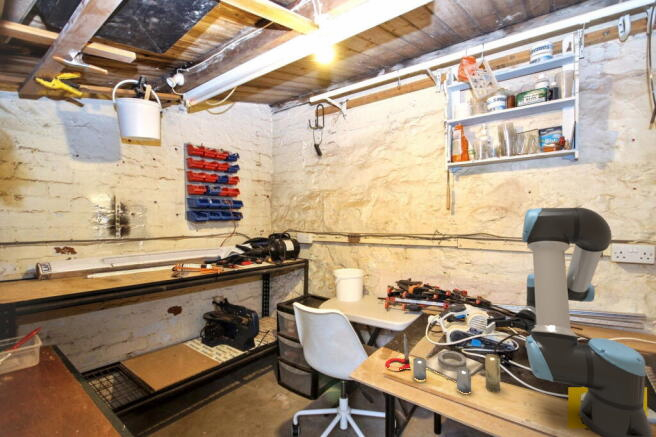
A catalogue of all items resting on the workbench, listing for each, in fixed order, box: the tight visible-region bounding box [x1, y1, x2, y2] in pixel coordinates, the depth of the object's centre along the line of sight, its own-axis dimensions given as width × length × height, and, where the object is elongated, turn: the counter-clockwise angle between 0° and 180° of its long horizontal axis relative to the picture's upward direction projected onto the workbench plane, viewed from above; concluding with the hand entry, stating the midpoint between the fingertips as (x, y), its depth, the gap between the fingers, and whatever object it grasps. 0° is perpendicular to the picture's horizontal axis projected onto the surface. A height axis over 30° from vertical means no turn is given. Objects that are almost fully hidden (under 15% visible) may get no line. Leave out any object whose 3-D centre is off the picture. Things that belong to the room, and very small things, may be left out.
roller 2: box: [456, 367, 472, 393], centre depth 109 cm, size 4×4×7 cm
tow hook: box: [384, 333, 412, 370], centre depth 125 cm, size 8×13×9 cm
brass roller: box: [484, 353, 501, 393], centre depth 109 cm, size 4×4×11 cm
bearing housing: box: [426, 348, 484, 383], centre depth 123 cm, size 16×16×4 cm
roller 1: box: [412, 356, 427, 380], centre depth 116 cm, size 4×4×7 cm
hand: (505, 337), depth 116 cm, fingers open, 13 cm apart
